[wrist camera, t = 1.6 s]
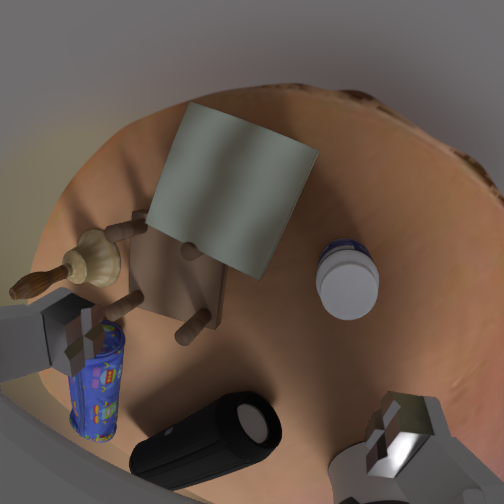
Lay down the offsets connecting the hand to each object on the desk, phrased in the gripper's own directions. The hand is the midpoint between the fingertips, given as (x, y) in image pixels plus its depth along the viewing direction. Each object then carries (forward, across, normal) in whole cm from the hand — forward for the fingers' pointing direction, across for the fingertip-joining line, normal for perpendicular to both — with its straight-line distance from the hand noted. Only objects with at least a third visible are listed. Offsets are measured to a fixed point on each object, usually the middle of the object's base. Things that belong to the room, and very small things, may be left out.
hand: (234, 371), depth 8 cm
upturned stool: (+27, -12, -10) cm, 32 cm away
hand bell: (+28, -25, -13) cm, 40 cm away
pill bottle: (+27, +6, -4) cm, 28 cm away
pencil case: (+27, -23, -32) cm, 47 cm away
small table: (+28, -6, +1) cm, 29 cm away
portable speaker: (+26, -5, -35) cm, 44 cm away
